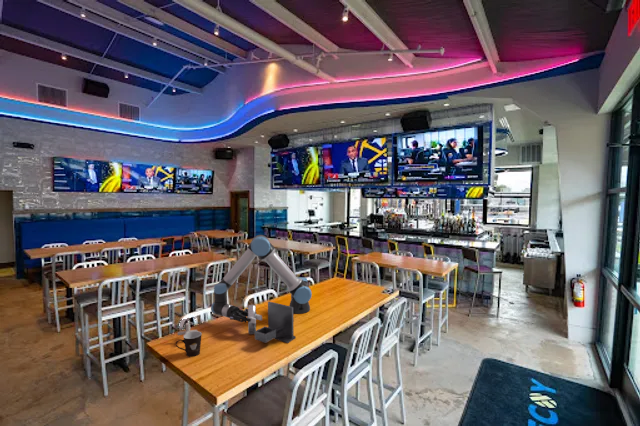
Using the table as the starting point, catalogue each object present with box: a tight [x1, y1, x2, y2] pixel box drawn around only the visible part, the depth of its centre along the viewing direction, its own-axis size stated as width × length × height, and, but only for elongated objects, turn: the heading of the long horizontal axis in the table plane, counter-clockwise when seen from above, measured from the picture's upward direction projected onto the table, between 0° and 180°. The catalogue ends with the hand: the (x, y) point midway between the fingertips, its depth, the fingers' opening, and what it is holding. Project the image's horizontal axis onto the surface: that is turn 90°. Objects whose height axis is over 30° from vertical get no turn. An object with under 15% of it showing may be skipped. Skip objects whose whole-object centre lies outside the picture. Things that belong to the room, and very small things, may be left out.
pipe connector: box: [177, 322, 198, 336], centre depth 172 cm, size 10×10×10 cm
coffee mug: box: [175, 330, 203, 358], centre depth 158 cm, size 12×9×10 cm
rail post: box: [247, 304, 257, 335], centre depth 180 cm, size 4×4×16 cm
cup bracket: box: [254, 301, 297, 344], centre depth 171 cm, size 19×18×19 cm
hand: (258, 319), depth 177 cm, fingers closed on rail post, 4 cm apart
